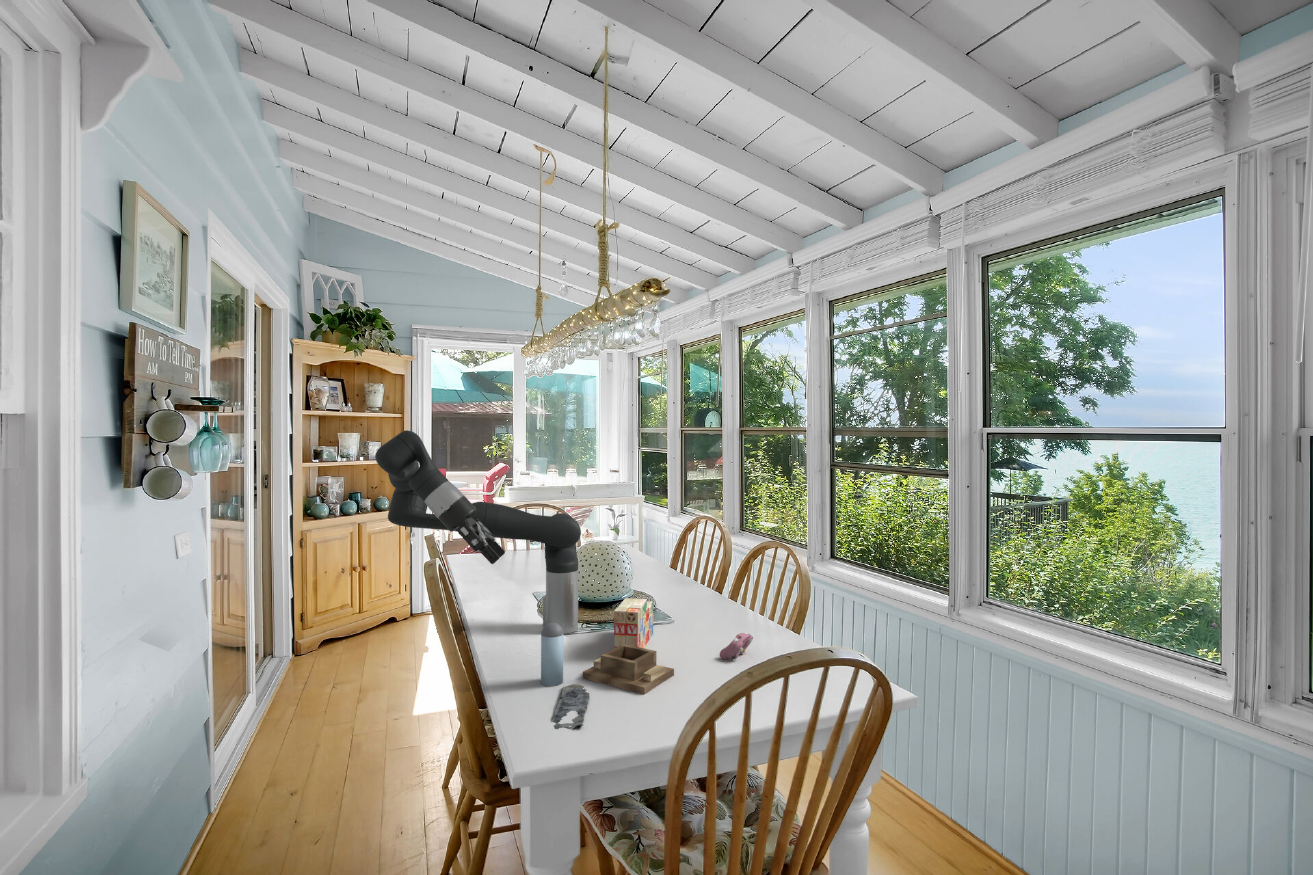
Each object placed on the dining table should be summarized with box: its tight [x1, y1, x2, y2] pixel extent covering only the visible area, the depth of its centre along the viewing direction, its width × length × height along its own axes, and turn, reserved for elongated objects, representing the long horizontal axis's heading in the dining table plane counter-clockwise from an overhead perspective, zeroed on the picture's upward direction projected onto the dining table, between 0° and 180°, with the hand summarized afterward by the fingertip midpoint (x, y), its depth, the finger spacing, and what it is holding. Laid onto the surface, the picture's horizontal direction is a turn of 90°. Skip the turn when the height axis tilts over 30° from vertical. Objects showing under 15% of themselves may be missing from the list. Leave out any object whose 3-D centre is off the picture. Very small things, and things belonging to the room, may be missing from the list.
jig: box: [582, 644, 675, 695], centre depth 149 cm, size 17×13×6 cm
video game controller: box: [719, 631, 754, 660], centre depth 164 cm, size 10×5×7 cm, turn 148°
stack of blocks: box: [613, 597, 654, 649], centre depth 171 cm, size 21×6×12 cm, turn 170°
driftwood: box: [550, 683, 590, 730], centre depth 133 cm, size 21×7×2 cm, turn 0°
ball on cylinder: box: [540, 623, 564, 687], centre depth 146 cm, size 5×5×14 cm
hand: (499, 558), depth 144 cm, fingers open, 8 cm apart
